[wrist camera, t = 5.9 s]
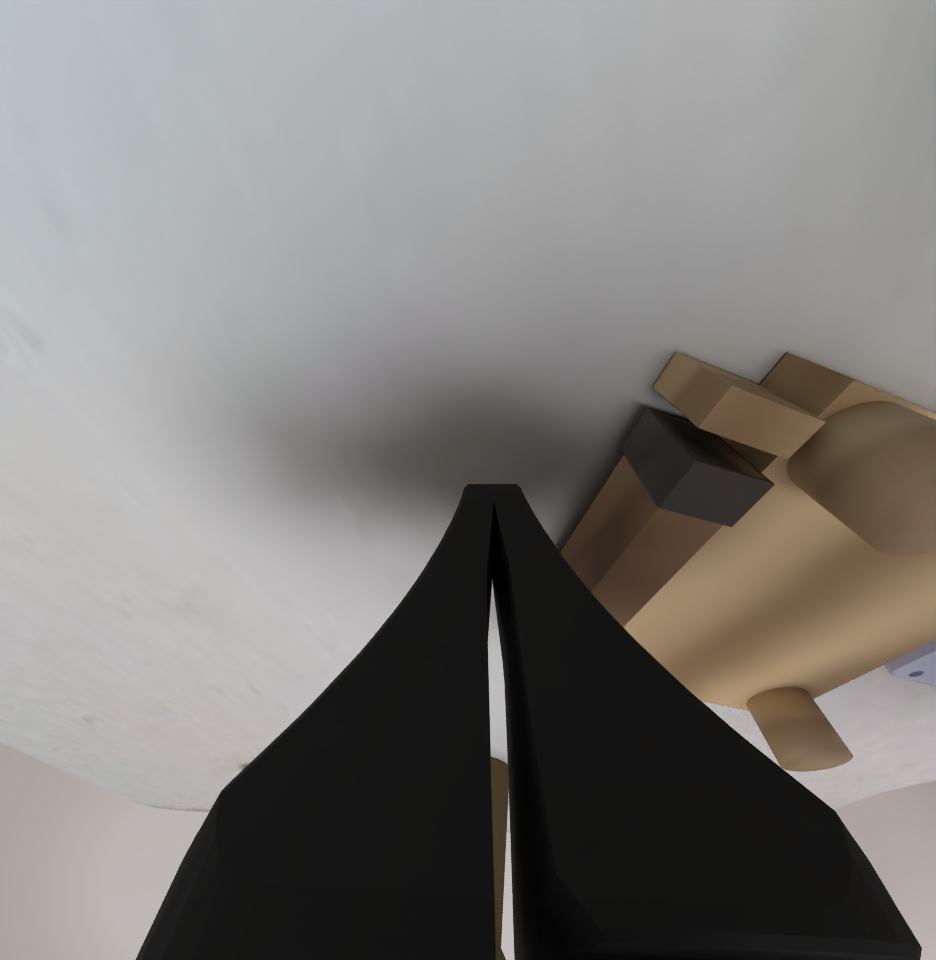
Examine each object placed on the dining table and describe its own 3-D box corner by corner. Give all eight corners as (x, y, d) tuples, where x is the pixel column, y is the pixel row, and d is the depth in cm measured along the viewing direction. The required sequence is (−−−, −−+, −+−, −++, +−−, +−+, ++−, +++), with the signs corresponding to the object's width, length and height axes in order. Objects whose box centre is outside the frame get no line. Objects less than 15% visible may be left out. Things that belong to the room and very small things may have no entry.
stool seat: (1079, 474, 10) (1357, 587, 7) (739, 679, 17) (797, 781, 14) (700, 316, 8) (847, 373, 5) (493, 625, 15) (496, 730, 12)
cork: (409, 760, 25) (369, 1063, 16) (487, 748, 23) (492, 1080, 14) (450, 785, 28) (437, 1051, 19) (522, 776, 26) (545, 1064, 17)
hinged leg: (561, 618, 14) (575, 682, 12) (518, 608, 13) (525, 673, 11) (709, 428, 9) (775, 484, 7) (646, 408, 9) (695, 460, 7)
